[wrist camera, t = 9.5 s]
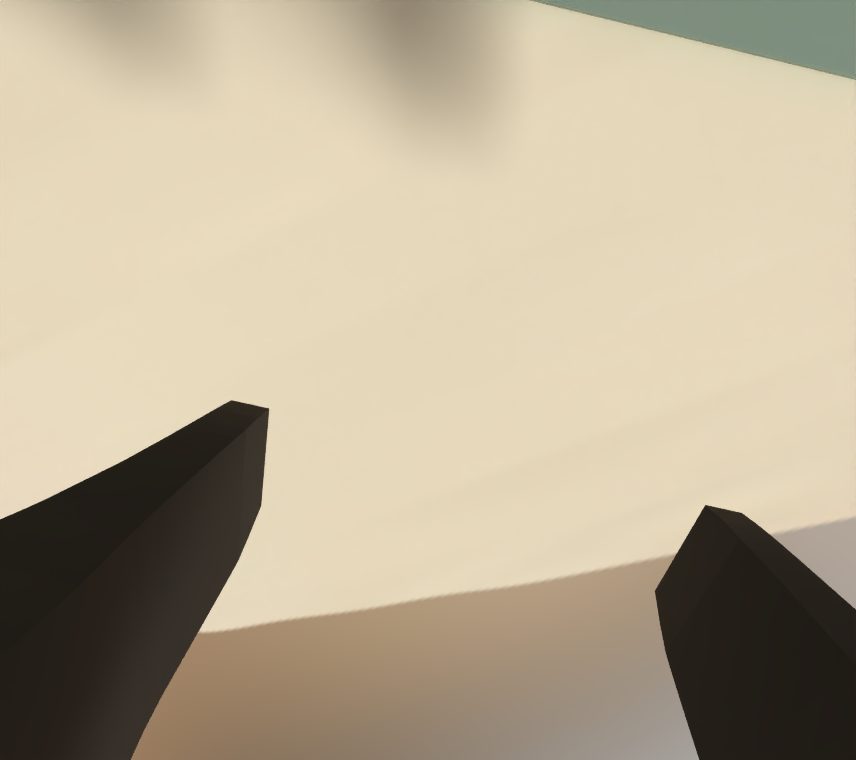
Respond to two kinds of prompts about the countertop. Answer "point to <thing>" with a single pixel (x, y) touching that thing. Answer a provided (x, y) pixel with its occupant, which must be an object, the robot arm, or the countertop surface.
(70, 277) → the countertop surface
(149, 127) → the countertop surface
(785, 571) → the robot arm
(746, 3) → the rubber mat
